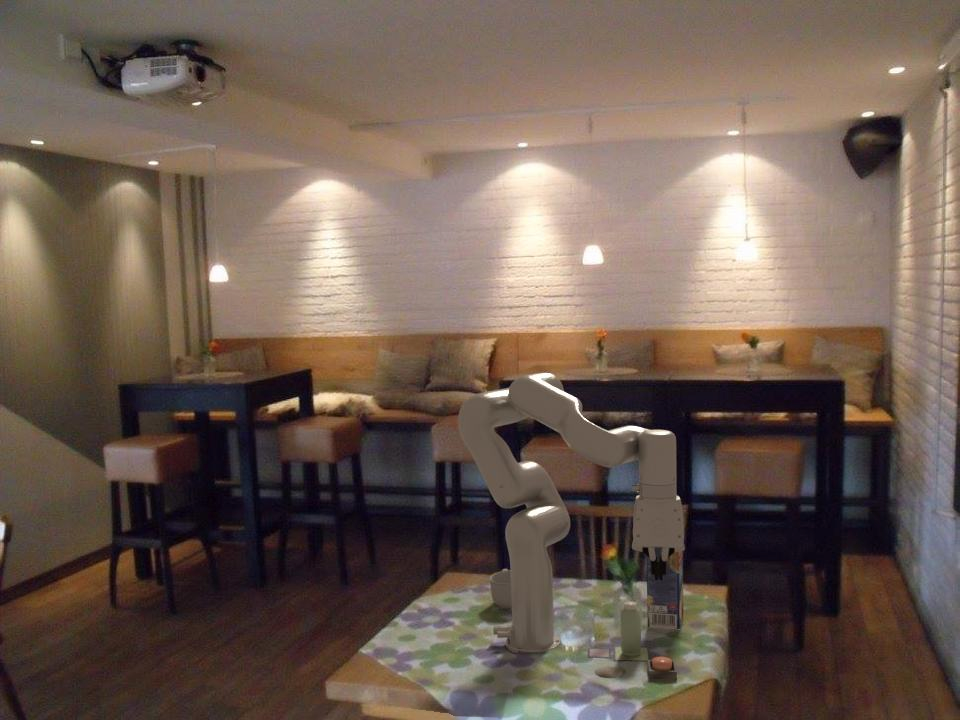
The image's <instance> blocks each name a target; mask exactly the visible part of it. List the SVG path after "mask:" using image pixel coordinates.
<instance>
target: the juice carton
mask: <svg viewBox="0 0 960 720" xmlns="http://www.w3.org/2000/svg"><path fill="white" fill-rule="evenodd" d="M654 550H655V554H656V555H657V558H659V557H660V555H661V550H662V548H654ZM683 554H684V551H680V552H674V553H673V554H672V555H671V556H670V557H669V558H668V559H667V561H666V575H663V580H660V579H659V566H658V580H655V577H654V575H651V560H650V558H649V557H648V556H647V555H646V554H645V556H646V606H647V607H646V608H647V613H646V614H647V628H648V627H651V629H661V628H668V629H667V630H674V629H681V625H682V622H683V617H684V613H685V612H684V559H683V558H684V555H683Z"/></svg>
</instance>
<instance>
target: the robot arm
mask: <svg viewBox="0 0 960 720" xmlns="http://www.w3.org/2000/svg"><path fill="white" fill-rule="evenodd" d="M459 409H460V410H459V412H458V418H457V426H458V431H459V435H460V438H461V440H462V441H463V443H464V445H465V446H466V449H467V450H468V451H469V453H470V455H471V457H472V458H473V459H474V462H475V465H477V468H478V470H479V472H480V474H481V477H482V479H483V480H484V482H485V485H486V486H487V488H488V490H489V493H490V495H491V496H492V498H493V500H494V501H495V503H496V505H498V506H500V508H503V509H513V508H517V507H520V506H523V505H525V506H526V508H525V509H523V510H520V511H519V512H516V513H515V514H513V515H512V516H511V517H510V518H509V520H508V521H507V524H506V526H505V531H504V532H505V536H504V537H505V541H506V546H507V550H508V556H509V564H510V567H509V568H510V569H509V570H510V571H511V595H512V609H511V618H512V620H511V624H509V625H508V624H507V625H506V626H501V625H499V626H498V625H496V626H495V625H494V626H493V628H492V629H493V636H496V635H497V637H496V638H498V639H503V638H506V640H505V646H506V648H507V650H509V651H510V652H512V653H515V654H518V653H519V652H523V653H541V652H548V651H551V650H555V649H556V648H558V647H559V646H560V645H561V644H562V639H561V638H560V636H558V635H557V634H555V622H554V619H555V615H554V584H553V583H554V581H553V579H554V578H553V567H552V566H553V565H552V562H551V559H550V557H549V554H548V550H547V547H549V546H551V545H553V544H555V543H557V542H559V541H562V540H563V539H564V538H566V536H567V535H568V534H569V532H570V529H571V518H570V515H569V511H568V510H567V507H566V505H565V503H564V501H563V499H562V498H561V495H560V494H559V492H558V490H557V487H556V485H555V484H554V482H553V481H552V478H551V477H550V475H549V474H548V472H547V470H546V469H545V468H544V467H543V466H542V465H540V464H539V463H537V462H535V461H532V460H525V461H519V462H518V461H517V460H516V458H515V457H514V455H513V452H512V451H511V448H510V447H509V445H508V444H507V442H506V441H505V440H504V439H503V438H502V437H501V436H500V435H499V434H498V433H497V432H496V431H495V428H498V427H501V426H505V425H511V424H514V423H517V422H521V421H524V420H526V419H528V418H531V419H533V420H535V421H537V422H539V423H541V424H543V425H545V426H546V427H547V428H549V429H551V430H554V432H557V433H558V434H559V435H560V436H561V439H563V441H564V442H565V444H566V445H568V447H569V448H570V449H571V450H572V451H574V452H575V453H577V454H578V455H580V456H582V457H583V458H585V459H586V460H589V461H591V462H592V463H594V464H596V465H599V466H601V467H606V468H618V467H620V466H622V465H625V464H628V463H632V462H636V461H638V475H639V476H638V482H637V483H636V484H632V485H631V492H636V493H637V494H639V495H636V497H635V501H634V506H633V507H634V509H633V516H632V517H633V519H632V522H633V523H632V526H633V527H632V537H633V538H632V539H633V540H632V544H631V548H632V550H634V551H638V552H642V553H644V554H645V556H646V555H647V556H648V557H649V558H650V560H651V575H654V577H655V580H658V566H659V579H660V580H663V575H666V561H667V559H668V558H669V557H670V556H671V555H672V554H673V553H674V552H680V551H683V552H684V551H685V550H686V547H685V543H684V542H685V529H684V511H683V506H682V505H683V504H682V499H681V498H680V496H679V495H678V494H677V437H676V435H675V433H673V432H672V431H670V430H667V429H666V430H665V429H648V428H644V427H640V426H636V425H624V426H621V427H616V428H613V429H609V430H607V429H605V428H603V427H601V426H598V425H596V424H594V423H593V422H591V421H589V420H588V419H586V418H585V417H584V416H583V415H582V413H583V403H582V402H581V400H580V399H579V398H578V397H575V396H574V395H572V394H570V393H567V392H566V391H565V390H564V386H563V384H562V382H561V380H560V378H558V377H557V376H556V375H554V374H552V373H550V372H549V373H548V372H537V373H531V374H525V375H522V376H519V377H517V378H516V379H514V381H512V383H510V386H508V387H506V388H505V387H504V388H501V389H500V388H499V389H495V390H488V391H483V392H479V393H476V394H474V395H471V396H470V397H468V398H467V399H466V400H465V401H464V402H463V404H462V405H461V407H460V408H459ZM654 548H662V550H661V555H660V557H659V558H657V555H656V554H655V550H654Z"/></svg>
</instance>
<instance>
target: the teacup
mask: <svg viewBox="0 0 960 720" xmlns="http://www.w3.org/2000/svg"><path fill="white" fill-rule="evenodd" d="M489 581H490V593H491V599H492V601H493V602H494V603H495V604H496V605H497V606H499V608H502V609H503V610H512V595H511V571H510V569H508V568H503V569H501V571H498V572H494V573H493V574H492V575H490V576H489Z"/></svg>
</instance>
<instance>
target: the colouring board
mask: <svg viewBox="0 0 960 720" xmlns="http://www.w3.org/2000/svg"><path fill="white" fill-rule="evenodd" d="M612 647H613V650H612V648H593V647H592V648H587V658H589V659H590V658H593V659H594V658H595V659H599V658H600V659H611V658H612V657H611V656H612V651H613V662H614V661H615V662H645V663H646V662H647V670H648V671H647V672H648V679H649V680H668V681H677V680H678V669H677V666H676V665H677V664H676V660H672V671H657V670H652V659H651V656H650V654H651V653H650V648H649V647H648V646H647V647H646V646H641V651H640V656H638V657H626V656H624V655H622V650H621V646H612ZM594 674H595V675H596V676H598V677H599V678H603V679H615V678H619V677H621V676H622V675H623V674H624V673H623V670H622V669H620V668H618V667H615V666H608V665H607V666H600V667H598V668H596V669H595V670H594Z"/></svg>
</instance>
